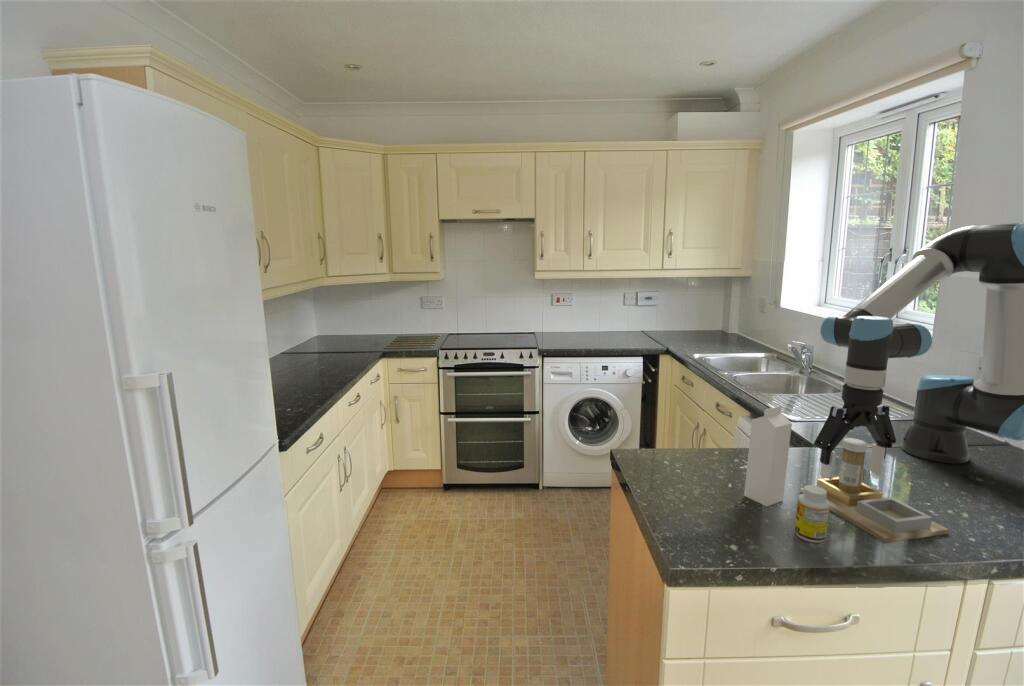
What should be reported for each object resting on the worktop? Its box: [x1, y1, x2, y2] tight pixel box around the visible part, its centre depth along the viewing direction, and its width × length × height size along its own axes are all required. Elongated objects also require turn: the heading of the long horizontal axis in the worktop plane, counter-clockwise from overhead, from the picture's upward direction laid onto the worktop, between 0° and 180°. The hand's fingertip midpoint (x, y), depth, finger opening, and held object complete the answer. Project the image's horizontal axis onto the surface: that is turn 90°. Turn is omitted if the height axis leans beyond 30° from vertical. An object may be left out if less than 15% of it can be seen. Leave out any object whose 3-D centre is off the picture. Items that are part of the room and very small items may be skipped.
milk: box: [743, 405, 793, 507], centre depth 117 cm, size 6×6×22 cm
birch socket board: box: [799, 487, 950, 543], centre depth 113 cm, size 16×22×1 cm
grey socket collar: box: [856, 496, 933, 533], centre depth 108 cm, size 9×9×2 cm
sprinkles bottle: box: [838, 437, 868, 494], centre depth 117 cm, size 5×5×14 cm
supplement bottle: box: [794, 484, 831, 544], centre depth 102 cm, size 6×6×10 cm
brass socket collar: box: [816, 476, 884, 507], centre depth 118 cm, size 9×9×2 cm
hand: (850, 474), depth 118 cm, fingers open, 13 cm apart
